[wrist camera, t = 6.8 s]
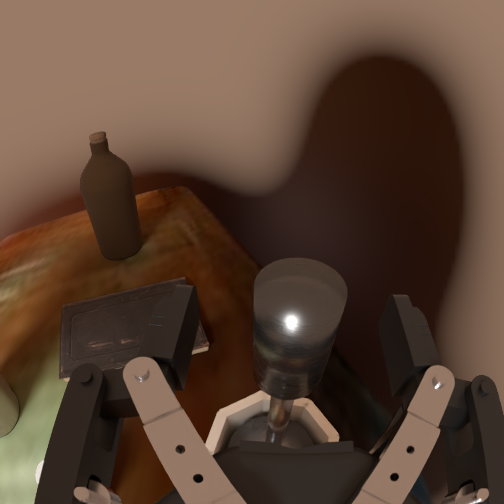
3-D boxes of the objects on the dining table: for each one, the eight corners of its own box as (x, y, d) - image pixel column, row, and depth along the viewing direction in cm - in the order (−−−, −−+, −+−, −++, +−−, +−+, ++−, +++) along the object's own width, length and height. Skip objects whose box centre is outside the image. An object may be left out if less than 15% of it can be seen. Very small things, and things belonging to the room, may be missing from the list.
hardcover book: (210, 353, 44) (209, 344, 43) (65, 385, 38) (58, 377, 36) (185, 283, 56) (184, 274, 55) (67, 311, 49) (62, 302, 48)
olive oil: (120, 268, 58) (90, 145, 43) (90, 252, 62) (60, 142, 47) (155, 240, 66) (137, 126, 51) (123, 228, 70) (103, 124, 55)
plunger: (213, 440, 22) (164, 261, 11) (283, 406, 25) (316, 213, 14) (255, 507, 18) (265, 427, 6) (329, 464, 20) (440, 308, 9)
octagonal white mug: (186, 474, 29) (153, 435, 20) (278, 431, 34) (291, 373, 25) (227, 541, 22) (212, 544, 14) (324, 491, 27) (363, 460, 19)
